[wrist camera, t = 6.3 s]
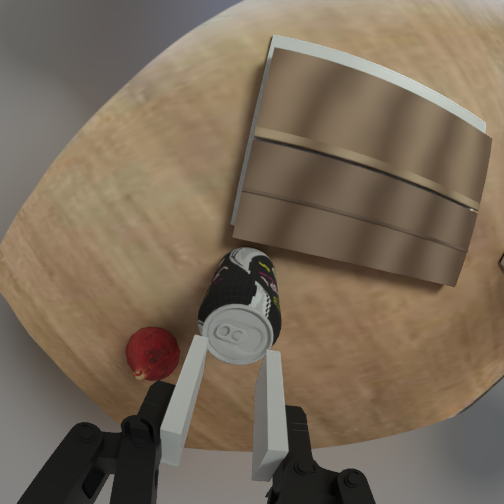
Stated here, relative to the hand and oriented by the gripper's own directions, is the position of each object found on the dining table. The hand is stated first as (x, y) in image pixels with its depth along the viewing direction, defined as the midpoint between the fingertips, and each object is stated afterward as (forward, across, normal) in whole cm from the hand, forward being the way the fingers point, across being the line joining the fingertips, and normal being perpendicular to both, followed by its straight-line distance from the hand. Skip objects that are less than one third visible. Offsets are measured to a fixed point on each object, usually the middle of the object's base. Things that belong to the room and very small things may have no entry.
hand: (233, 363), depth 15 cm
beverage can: (+15, 0, 0) cm, 15 cm away
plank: (+14, +11, +18) cm, 25 cm away
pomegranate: (+15, -8, -10) cm, 20 cm away
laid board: (+15, +11, +8) cm, 20 cm away
